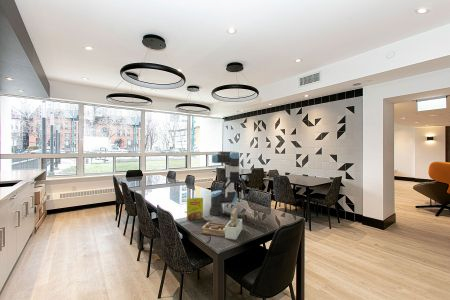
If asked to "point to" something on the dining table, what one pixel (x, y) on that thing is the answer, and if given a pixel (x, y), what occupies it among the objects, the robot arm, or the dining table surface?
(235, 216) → the board
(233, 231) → the tote
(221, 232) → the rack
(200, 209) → the food package
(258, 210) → the dining table surface
